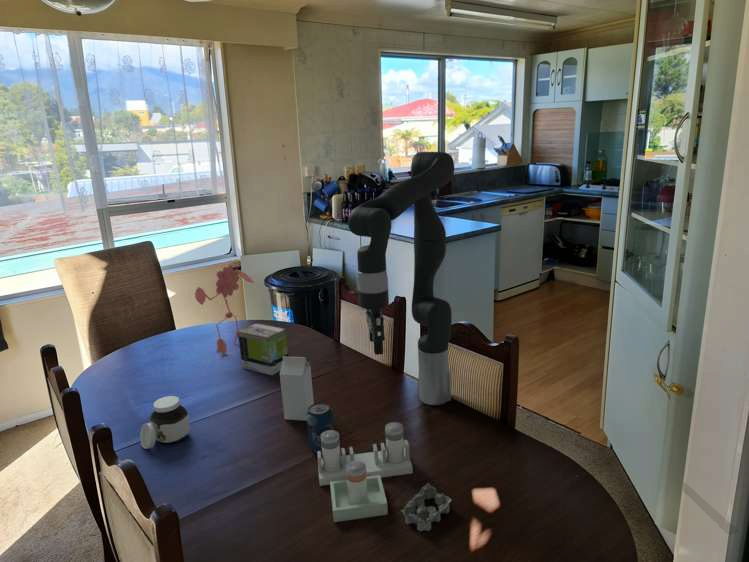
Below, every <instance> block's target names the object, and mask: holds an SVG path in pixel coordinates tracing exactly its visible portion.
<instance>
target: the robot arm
mask: <svg viewBox="0 0 749 562" xmlns="http://www.w3.org/2000/svg"><path fill="white" fill-rule="evenodd" d="M454 173H455V161H454V158H453V157H452V155H451V154H450V153H447V152H445V151H444V152H443V151H418V152H416V153H415V154H414V156H413V157H412V159H411V163H410V178H407V179H404V180H401V181H400V182H397V183H395V184H393V185H392V186H390V187H389V188H387V190H385V191H383V192H382V193H381V194H380V195H379V196H378V197H375V198H371V199H370V200H367V201H366V202H363V203H361V204H360V205H357V206H356V207H354V209H353V210H352V211H351V213H350V214H349V217H348V220H347V225H348V226H347V227H348V229H349V231H350V232H351V233H352V234H354V235H355V236H358V237H367V238H370V240H369V241H370V242H369V244H368V245H367V244H366V245H363V246H360V247H359V248H358V249H357V252H356V253H357V255H356V256H357V290H358V306H359V307H360V308H362V309H364V310H366V311H365V317H366V324H367V327H368V333H369V341H370V342H371V343H372V342H373V352H374V353H373V354H374V355H377V356H378V355H383V354H384V341H385V340H386V338H385V327H384V326H385V323H384V318H385V317H384V313H382V311H383V310H382V309H385V308H386V307H388V306H389V304H390V303H389V300H390V298H389V281H388V273H387V256H386V254H387V248H388V244H389V240H390V235H391V231H392V221H394V220H396V219H397V218H398V217H400V215H402V214H403V213H404V212H406V211H407V210H408V209H409V208H410V207H411V206H413V221H414V222H413V223H414V224H413V230H414V231H413V253H414V254H413V255H414V256H413V257H414V259H413V260H414V265H413V268H414V269H413V271H414V272H413V286H412V287H413V288H412V289H413V290H412V299H411V316H412V319H413V320H414V322H416V323H417V324H419V325H422V326H425V327H426V328H427V333H426V334H424V335H422V336H420V337H419V338H418V340H417V352H418V353H417V356H418V358H417V359H418V360H417V361H418V363H417V364H418V389H419V391H418V394H419V397H418V398H419V400H420V401H421V403H423V404H426V405H429V406H441V405H444V404H446V403H447V402H451V401H452V397H451V396H452V394H451V393H452V392H451V391H452V390H451V389H452V386H451V385H452V383H451V378H452V376H451V371H450V370H449V368H450V367H449V343H450V340H451V337H452V319H453V317H452V314H453V313H452V308H451V305H450V303H449V302H448V301H447V300H445V299H442V298H439V297H436V296H434V281H435V277H436V274H437V272H438V271H439V269H440V267H441V266H442V263H443V262H444V259H445V256H446V251H447V249H446V247H447V245H446V244H447V236H446V235H447V234H446V233H447V232H446V227H445V225H444V223H443V221H442V219H441V217H440V216H439V214H438V213H437V211H436V208H435V207H434V205H433V202H432V201H433V200H432V196H431V194H432V193H433V192H434V191H436V190H438V189H441V188H442V187H444V186H447V184H448V183H450V181H451V180H452V178H453V177H454ZM379 334H380V335H379Z"/></svg>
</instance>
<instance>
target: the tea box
mask: <svg viewBox="0 0 749 562" xmlns="http://www.w3.org/2000/svg"><path fill="white" fill-rule="evenodd" d="M238 337H239V338H238ZM238 337H237V338H238V345H239V351H240V357H241V358H240V359H241V366H242V367H241V368H243V369H246V370H250V371H253V372H257V373H261V374H264V375H265V374H266V375H269V376H274V375H275V374H277V373H280V370H281V366H282V361H283V357H289V350H288V341H287V340H288V337H287V330H286V328H283V327H278V326H272V325H268V324H263V323H258V322H257V323H254V324H251V325H249V326H247V327H245V328H243V329H240V330H238Z"/></svg>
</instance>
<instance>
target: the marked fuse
mask: <svg viewBox="0 0 749 562" xmlns="http://www.w3.org/2000/svg"><path fill="white" fill-rule="evenodd" d="M366 476H367V475H366V465H365V463H364V462H362V461H352V462H350V463H348V464H347V465H346V478H347V487H348V502H349V504H350V505H351V506H353V505H360V504H367V502H368V495H367V480H366Z"/></svg>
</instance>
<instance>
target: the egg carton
mask: <svg viewBox="0 0 749 562" xmlns="http://www.w3.org/2000/svg"><path fill="white" fill-rule="evenodd" d="M431 499H434V502H435V504H436V505H437V507H435V506H434V505H433V506H432V505H430V506H426V505H425V500H431ZM452 500H453V499H452V498H451V497H449V495H447V496H446V495H445V494H444V493H442V492H441V494H440V493H439V492H438V490H437V489H436V487H434V486H432V485H431V484H430V482H428V483H426V484H424V486H422V487H421V488H420V490H419V492H418V493H416V494H415V495H414V496H413V498H411V500H409V501H408V502H407V503H406V505H405V506H404V507H403V509H401V510H400V512H402V514H403V515H404V523H405V524H407V525H409V524H415V525H416V529H417V531H419V532H422V531H426V532H427V531H428V532H429V531H430V530H431V529H432V523H433V522H435V523H436V522H437V523H439V522H440V521H441V514H449V512H450V503H451V501H452ZM437 508H438V510H437Z"/></svg>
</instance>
